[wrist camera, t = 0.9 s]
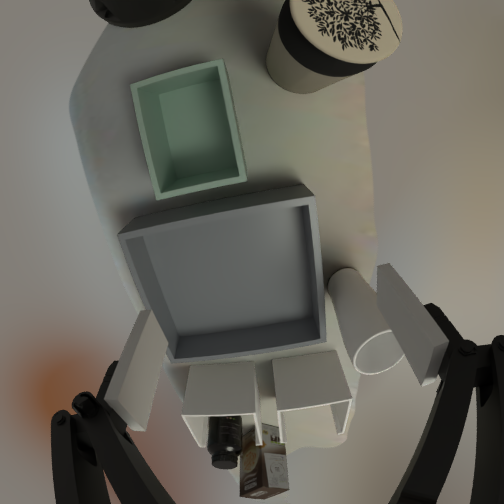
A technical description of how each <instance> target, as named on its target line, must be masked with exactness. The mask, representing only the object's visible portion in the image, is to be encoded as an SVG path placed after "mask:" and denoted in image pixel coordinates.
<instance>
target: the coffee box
mask: <svg viewBox="0 0 504 504" xmlns="http://www.w3.org/2000/svg"><path fill="white" fill-rule="evenodd" d="M261 425H262V444H263V445H257V446H256V438H255V428H254V429H253V430H252V431H250V432H249V433H247V434H246V435H245V436H243V437H242V446H243V449H242V453H241V454H240V497H245V498H253V499H267V498H269V497H272V496H275V495H277V494H280V493H283V492H285V491H287V490H289V482H288V470H287V459H286V449H285V443H280V433H279V428H278V427H274V426H270V425H266V424H261Z"/></svg>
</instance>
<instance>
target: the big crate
mask: <svg viewBox="0 0 504 504" xmlns="http://www.w3.org/2000/svg"><path fill="white" fill-rule="evenodd" d="M117 236H118V239H119V242H120V245H121V248H122V250H123V253H124V256H125V259H126V261H127V264H128V267H129V269H130V272H131V274H132V277H133V280H134V282H135V285H136V287H137V290H138V292H139V294H140V297H141V299H142V302H143V304H144V306H145V309H146V310H150V309H152V311H153V313H154V315H155V317H156V319H157V321H158V323H159V325H160V327H161V329H162V331H163V333H164V335H165V337H166V339H167V341H168V346H167V350H166V354H167V356H168V358H169V360H170V362H171V363H183V362H194V361H205V360H215V359H224V358H232V357H240V356H247V355H255V354H261V353H268V352H274V351H280V350H286V349H292V348H298V347H303V346H308V345H313V344H319V343H323V342H326V318H325V300H324V284H323V271H322V258H321V247H320V236H319V226H318V217H317V208H316V199H315V195H314V194H313V193H312V192H311V191H310V190H309V189H308V188H307V187H306V186H305V185H304V184H303V185H296V186H290V187H284V188H278V189H272V190H266V191H261V192H255V193H250V194H244V195H239V196H234V197H228V198H223V199H218V200H213V201H208V202H203V203H199V204H194V205H189V206H185V207H180V208H175V209H171V210H167V211H162V212H158V213H154V214H149V215H145V216H141V217H137V218H134V219H133V220H132V221H131V222H130V223H129V224H128V225H127V226H126V227H125V228H123V229H122V230H121V231H120V232H119V233H118V234H117Z"/></svg>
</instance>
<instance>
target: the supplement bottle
mask: <svg viewBox="0 0 504 504" xmlns="http://www.w3.org/2000/svg"><path fill="white" fill-rule="evenodd" d="M207 448H208V451H209V453H210V454H211V455H212V465H213V466H214V467H216V468H219V469H233V468H235V467H237V461H238V456H239V455H240V454H241V453H242V449H243V446H242V418H241V416H240V415H235V416H210V419H209V432H208V446H207Z"/></svg>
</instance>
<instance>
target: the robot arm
mask: <svg viewBox="0 0 504 504" xmlns="http://www.w3.org/2000/svg"><path fill="white" fill-rule="evenodd" d="M89 1H90V4H91V6H92V8H93V10H94V11H95V12H96V14H97V15H98V16H100V17H101V18H102V19H104V20H105V21H107V22H109V23H110V24H113V25H115V26H119V27H128V28H130V27H141V26H146V25H150V24H153V23H156V22H159V21H161V20H164V19H166V18H168V17H170V16H172V15H173V14H175V13H177V12H178V11H180V10H181V9H182V8H184V7H185V6H186V5H187V4H188V3H190V2H191V1H192V0H89ZM376 305H377V306H378V308H379V310H380V312H381V313H382V315H383V317H384V318H385V320H386V322H387V324H388V325H389V327H390V329H391V331H392V332H393V334H394V336H395V338H396V340H397V341H398V343H399V345H400V347H401V349H402V350H403V352H404V354H405V356H406V358H407V360H408V361H409V363H410V365H411V367H412V369H413V371H414V373H415V375H416V377H417V379H418V381H419V383H420V385H421V387H422V386H425V385H427V384H430V383H432V382H435V380H436V377H437V375H438V374H439V376H440V378H441V382H440V384H439V387H438V389H437V391H436V392H437V395H436V398H435V401H434V404H433V407H432V410H431V413H430V415H429V418H428V421H427V423H426V426H425V429H424V431H423V434H422V436H421V439H420V441H419V443H418V446H417V448H416V450H415V453H414V455H413V458H412V459H411V461H410V464H409V466H408V468H407V470H406V472H405V474H404V476H403V478H402V480H401V482H400V484H399V485H398V487H397V489H396V491H395V493H394V495H393V496H392V498H391V500H390V502H389V503H388V504H436V502H437V499H438V496H439V494H440V492H441V490H442V487H443V485H444V483H445V480H446V478H447V475H448V473H449V470H450V468H451V465H452V462H453V460H454V457H455V454H456V451H457V448H458V445H459V442H460V439H461V435H462V432H463V428H464V425H465V421H466V417H467V413H468V409H469V405H470V401H471V396H472V391H473V388H474V387H476V401H477V442H476V459H475V471H474V480H473V488H472V495H471V500H470V504H504V335H499V336H496V337H495V338H494V339H493V341H492V344H488V345H480V346H477V345H476V344H475V343H474V342H473V341H470V340H464V339H463V338H462V336H461V335H460V334H459V332H458V331H457V330H456V328H455V327H454V326H453V324H452V323H451V322H450V321H449V320H448V318H447V317H446V316H445V315H444V313H443V312H442V310H441V309H440V308H439V307H437V306H436V305H434V304H433V303H429V304H426V305H422V303H421V302H420V301H419V299H418V298H417V297H416V295H415V294H414V293H413V292H412V290H411V289H410V288H409V287H408V285H407V284H406V283H405V282H404V280H403V279H402V278H401V277H400V276H399V274H398V273H397V272H396V271H395V269H394V268H393V267H392V266H391V265H390V263H388V264H383V265H379V266H377V301H376ZM167 346H168V341H167V339H166V337H165V335H164V333H163V331H162V329H161V327H160V325H159V323H158V321H157V319H156V317H155V315H154V313H153V311H152V309H150V310H143V311H140V313H139V315H138V318H137V320H136V322H135V324H134V327H133V329H132V331H131V333H130V336H129V338H128V341H127V343H126V345H125V347H124V350H123V352H122V354H121V357H120V359H119V361H114V362H113V363H112V364H111V365H110V366H109V368H108V370H107V372H106V374H105V377H104V379H103V382H102V384H101V386H100V389H99V392H98V394H97V396H96V398H95V397H94V396H93V395H92V394H91V393H90V392H82V393H79V394H78V395H77V396H76V397H75V398H74V399H73V402H72V408H73V409H74V411H75V412H76V413H77V414H75V415H70V414H69V412H68V411H66V410H60V411H58V412H57V413H55V414H54V416H53V417H52V420H51V450H52V451H51V452H52V470H53V482H54V491H55V499H56V504H111V502H110V499H109V494H108V490H107V486H106V482H105V477H104V472H105V474H106V476H107V478H108V480H109V482H110V483H111V485H112V487H113V489H114V491H115V493H116V494H117V497H118V498H119V500H120V502H121V504H176V503H175V502H174V501H173V499H172V498H171V497H170V495H169V494H168V493H167V491H166V490H165V489H164V487H163V486H162V485H161V483H160V482H159V481H158V479H157V478H156V476H155V475H154V473H153V472H152V470H151V469H150V467H149V466H148V464H147V463H146V461H145V460H144V458H143V457H142V455H141V453H140V452H139V450H138V449H137V447H136V446H135V444H134V442H133V440H132V439H131V437H130V435H129V433H128V432H127V431H126V427H127V425H128V426H129V427H130V428H131V429H132V430H133V431H146V428H147V424H148V419H149V415H150V411H151V407H152V403H153V399H154V395H155V391H156V387H157V383H158V380H159V375H160V372H161V368H162V365H163V361H164V357H165V354H166V350H167ZM103 470H104V472H103Z"/></svg>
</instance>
